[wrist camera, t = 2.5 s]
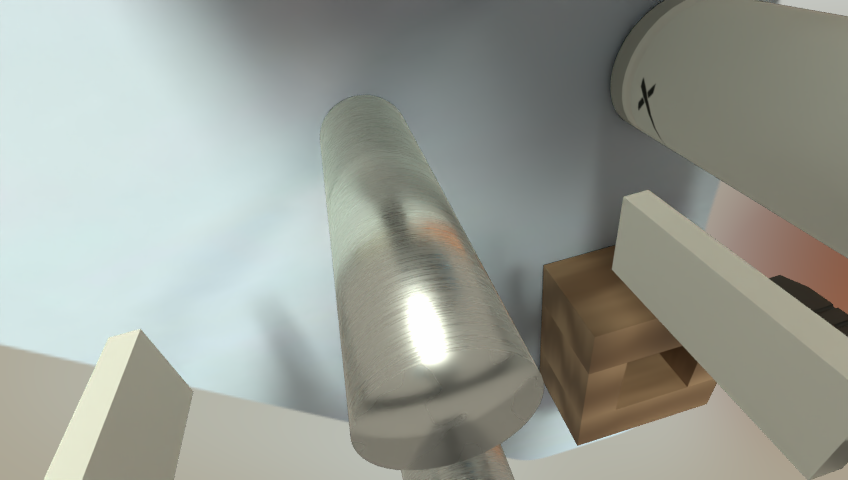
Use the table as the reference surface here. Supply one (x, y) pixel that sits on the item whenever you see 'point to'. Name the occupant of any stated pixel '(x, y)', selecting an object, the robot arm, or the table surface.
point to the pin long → (468, 469)
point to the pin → (414, 304)
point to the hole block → (610, 352)
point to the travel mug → (747, 101)
